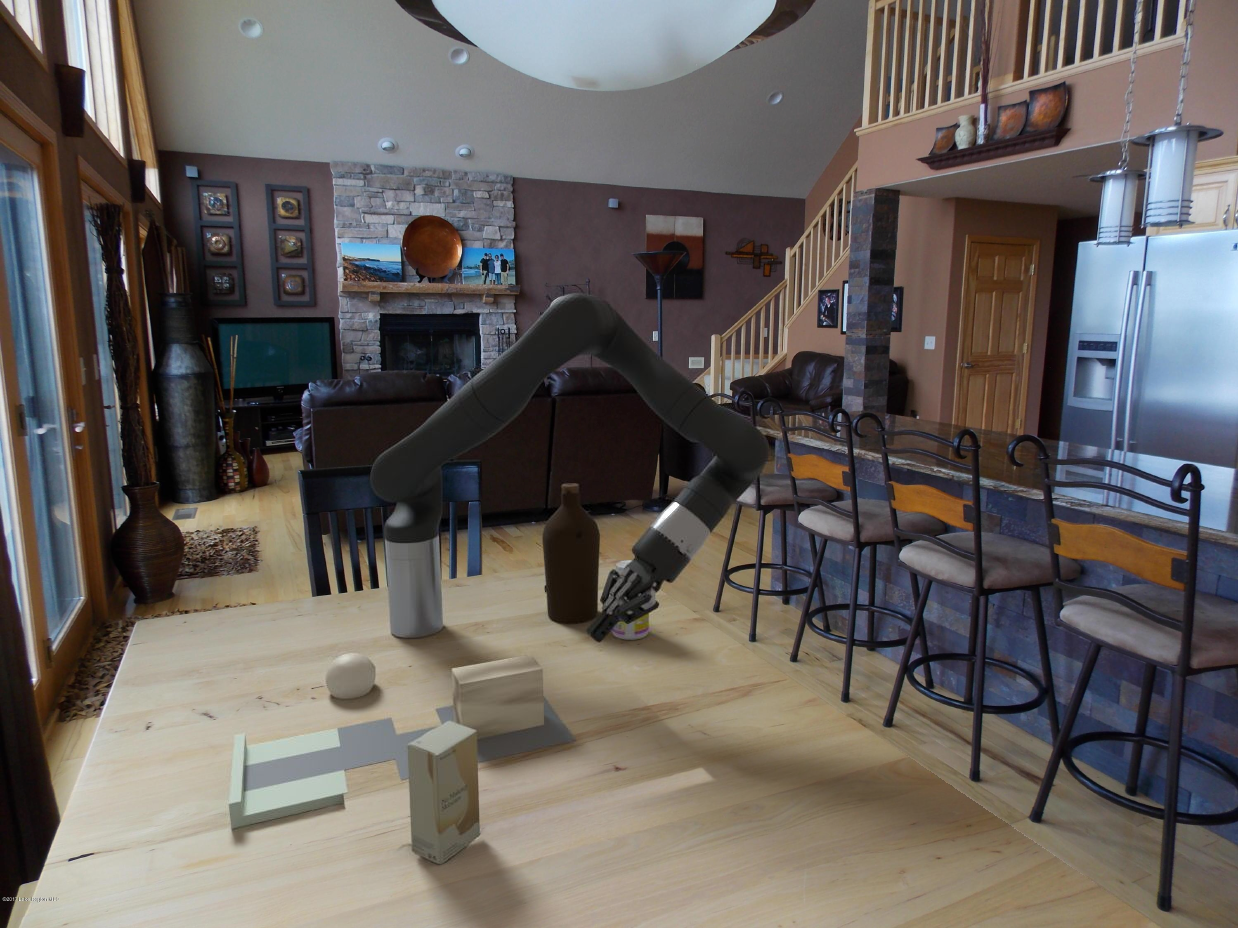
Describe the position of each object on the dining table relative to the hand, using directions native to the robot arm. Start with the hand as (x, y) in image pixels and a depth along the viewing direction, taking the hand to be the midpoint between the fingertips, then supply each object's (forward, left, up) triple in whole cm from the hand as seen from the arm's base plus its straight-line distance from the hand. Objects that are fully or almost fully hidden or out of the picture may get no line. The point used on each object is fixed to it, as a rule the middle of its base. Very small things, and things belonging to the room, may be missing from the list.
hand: (592, 637), depth 110 cm
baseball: (-19, -31, -11) cm, 38 cm away
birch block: (0, -14, -10) cm, 17 cm away
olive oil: (-37, +10, -11) cm, 40 cm away
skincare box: (+20, -25, -11) cm, 34 cm away
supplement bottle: (-24, +16, -11) cm, 31 cm away
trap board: (0, -25, -11) cm, 28 cm away
